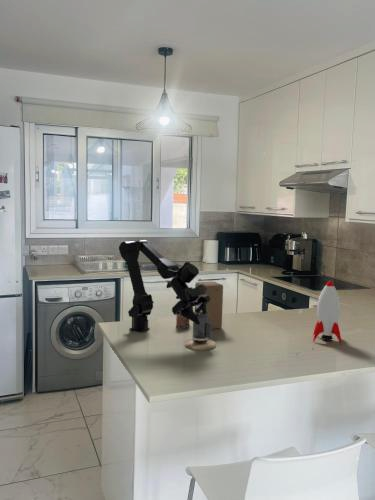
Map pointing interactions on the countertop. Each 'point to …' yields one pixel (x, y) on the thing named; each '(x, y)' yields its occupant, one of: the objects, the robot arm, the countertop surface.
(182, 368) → the countertop surface
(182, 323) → the lighter
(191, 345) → the smooth tan round disc
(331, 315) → the rocket
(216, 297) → the wooden block
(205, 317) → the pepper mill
